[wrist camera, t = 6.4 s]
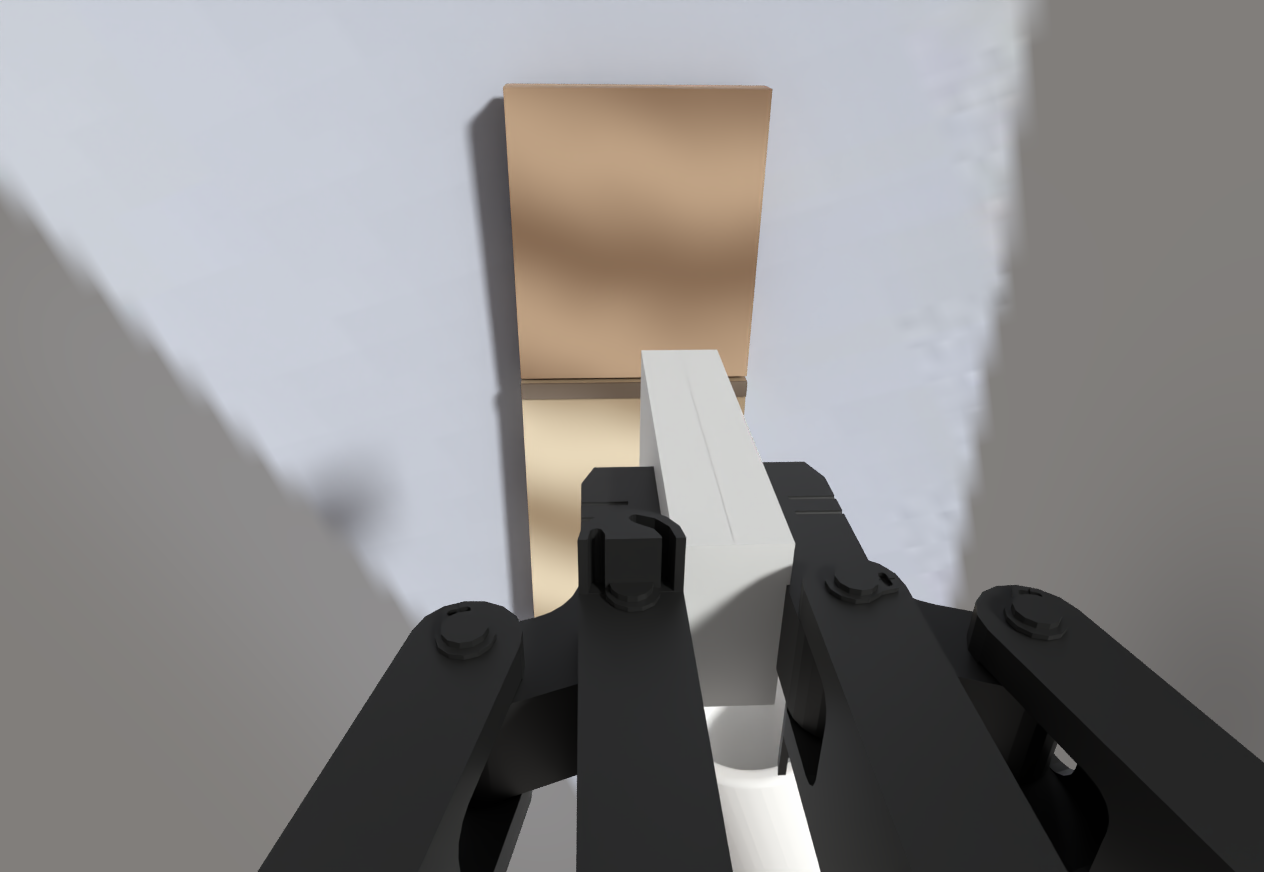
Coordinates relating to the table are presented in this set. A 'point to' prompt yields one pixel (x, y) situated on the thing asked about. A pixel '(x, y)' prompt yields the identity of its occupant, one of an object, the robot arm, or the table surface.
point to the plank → (634, 222)
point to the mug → (758, 790)
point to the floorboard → (574, 465)
